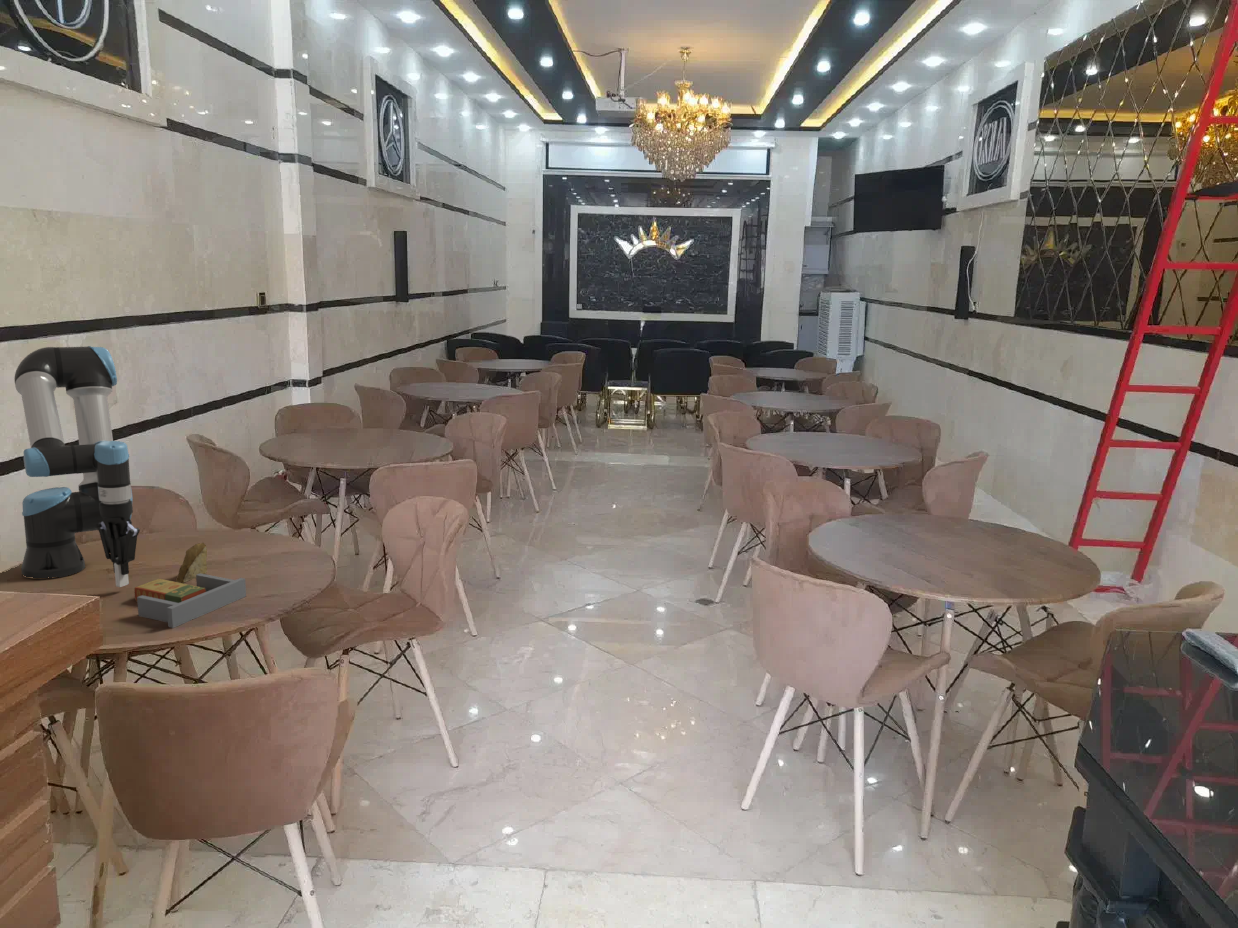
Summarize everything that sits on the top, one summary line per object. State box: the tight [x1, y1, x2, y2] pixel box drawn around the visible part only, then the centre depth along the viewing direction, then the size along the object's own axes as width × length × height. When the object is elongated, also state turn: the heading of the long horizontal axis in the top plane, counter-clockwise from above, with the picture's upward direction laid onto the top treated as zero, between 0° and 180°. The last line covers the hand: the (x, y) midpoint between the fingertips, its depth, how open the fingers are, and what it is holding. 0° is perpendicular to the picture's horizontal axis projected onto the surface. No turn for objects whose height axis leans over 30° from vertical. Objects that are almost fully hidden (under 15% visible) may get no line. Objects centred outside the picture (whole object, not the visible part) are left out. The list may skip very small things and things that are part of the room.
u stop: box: [136, 573, 247, 629], centre depth 223 cm, size 14×24×5 cm, turn 160°
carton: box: [133, 578, 206, 603], centre depth 227 cm, size 8×16×4 cm, turn 70°
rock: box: [175, 542, 208, 584], centre depth 244 cm, size 11×9×10 cm
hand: (122, 585), depth 231 cm, fingers closed
